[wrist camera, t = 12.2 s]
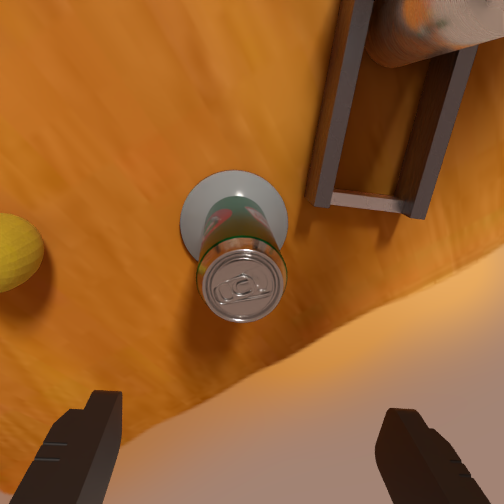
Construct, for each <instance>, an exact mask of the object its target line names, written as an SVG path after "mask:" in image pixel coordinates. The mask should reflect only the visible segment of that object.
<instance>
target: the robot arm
mask: <svg viewBox="0 0 504 504" xmlns="http://www.w3.org/2000/svg"><path fill="white" fill-rule="evenodd" d="M121 435H122V392H121V391H104V390H94V391H93V392H92V394H91V396H90V398H89V400H88V402H87V404H86V406H85V408H84V410H82V409H69V410H68V411H67V412H66V413H65V414H64V415H63V416H62V417H60V418H59V419H58V420H57V421H56V422H55V423H54V424H53V425H52V427H51V429H50V431H49V433H48V434H47V436H46V438H45V440H44V442H43V445H41V447H40V449H39V451H38V452H37V454H36V456H35V459H34V461H32V463H31V465H30V467H29V468H28V470H27V472H26V474H25V476H24V477H23V479H22V481H21V483H20V485H19V486H18V488H17V490H16V492H15V494H14V495H13V497H12V499H11V501H10V503H9V504H102V503H103V500H104V497H105V493H106V490H107V487H108V484H109V481H110V478H111V475H112V472H113V468H114V465H115V462H116V459H117V455H118V452H119V448H120V442H121ZM375 458H376V463H377V466H378V469H379V471H380V473H381V476H382V478H383V481H384V483H385V485H386V487H387V490H388V492H389V494H390V497H391V499H392V501H393V503H394V504H491V503H490V502H489V500H488V499H487V497H486V496H485V495H484V493H483V491H482V490H481V488H480V487H479V486H478V484H477V483H476V481H475V480H474V479H473V478H471V474H470V472H469V471H468V469H467V468H466V466H465V465H464V464H462V463H461V459H460V458H459V456H458V455H457V453H456V452H455V450H454V449H453V447H452V446H451V445H450V443H449V442H448V441H446V440H445V439H444V438H443V437H442V436H441V435H440V434H439V433H438V432H437V431H436V430H435V429H430V428H428V426H427V425H426V423H425V422H424V420H423V419H422V417H421V415H420V414H419V413H418V412H417V411H416V410H414V409H399V408H389V409H388V410H387V412H386V416H385V418H384V421H383V424H382V427H381V430H380V433H379V436H378V439H377V442H376V445H375Z"/></svg>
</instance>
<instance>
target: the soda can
mask: <svg viewBox="0 0 504 504" xmlns="http://www.w3.org/2000/svg"><path fill="white" fill-rule="evenodd" d="M196 283H197V288H198V291H199V294H200V296H201V298H202V299H203V301H204V302H205V303H206V304H207V305H208V307H209V308H210V309H211V310H212V311H213V312H214V313H215V314H216V315H218V316H219V317H221V318H223V319H225V320H228V321H231V322H236V323H247V322H252V321H256V320H259V319H261V318H263V317H265V316H266V315H268V314H269V313H270V312H271V311H272V310H273V309H274V308H275V307H276V306H277V304H278V303H279V301H280V299H281V297H282V295H283V293H284V291H285V288H286V284H287V268H286V264H285V262H284V259H283V257H282V255H281V252H280V250H279V248H278V245H277V243H276V240H275V238H274V236H273V233H272V231H271V229H270V226H269V224H268V222H267V219H266V217H265V214H264V212H263V211H262V209H261V208H260V206H259V205H258V204H257V203H255V202H254V201H253V200H251V199H249V198H246V197H242V196H229V197H226V198H223V199H221V200H219V201H218V202H216V203H215V204H214V205H213V206H212V207H211V209H210V210H209V212H208V214H207V216H206V220H205V226H204V231H203V237H202V243H201V249H200V255H199V260H198V266H197V272H196Z"/></svg>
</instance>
